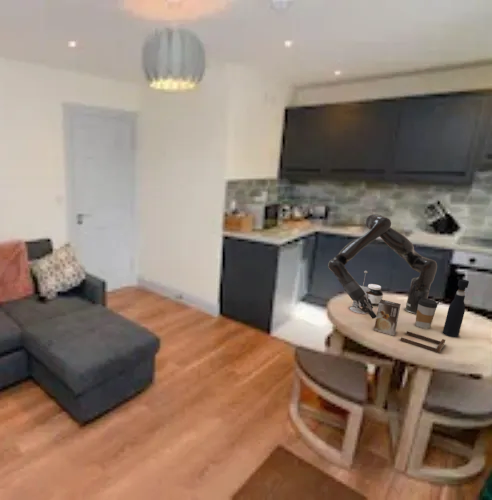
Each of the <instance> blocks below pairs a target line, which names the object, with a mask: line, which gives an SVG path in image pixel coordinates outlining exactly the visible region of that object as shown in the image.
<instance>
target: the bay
mask: <svg viewBox="0 0 492 500" xmlns="http://www.w3.org/2000/svg"><path fill="white" fill-rule="evenodd" d="M405 335H407V336H410V337H413V338H416V339H420V340H422V341H427V342H429V343H433V344H436V345H437V346H436V347H434V346H430V345H427V344H424V343H421V342H418V341H414V340H411V339H408V338H405V337H402V336H401V337H400V341H401V342H403V343H407V344H408V345H409V344H410V345H413V346H416V347H418V348H423V349H425V350H428V351H430V352H431V351H432V352H434V353H437V354H440V353H441V351H442V349H443V348H444V346H445V344H446V339H444V338H442V339H441V340H437V339H434V338H431V337H428V336H424V335H421V334H418V333H414V332H411V331H409V330H406V332H405Z"/></svg>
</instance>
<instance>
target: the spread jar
mask: <svg viewBox="0 0 492 500" xmlns="http://www.w3.org/2000/svg"><path fill="white" fill-rule="evenodd" d="M367 287H368V288H369V289H370V290H371V291H369V292H365V293H366V295H367V294H369V295H368V296H370V298H369V297H368V298H369V299H370V301H371V303H372V306H378V305H379V302H380V300H381V299H382V300H383V297H384V294H383V293H384V292H383V291H382V286H381V285H379V284H375V283H368V285H367Z"/></svg>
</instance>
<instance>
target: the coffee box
mask: <svg viewBox="0 0 492 500" xmlns="http://www.w3.org/2000/svg"><path fill="white" fill-rule="evenodd" d="M401 306H402V305H401V303H399V302H394V301H391V300H386V299H383V298H382V299H381V300H380V302H379V305H377V311H376V318H375V321H374V328H373V330H374V331H375V332H379V333H383V334H386V335H389V336H392V337H393V336H395V334H396V331H397V326H398V321H399V316H400V310H401Z"/></svg>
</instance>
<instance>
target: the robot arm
mask: <svg viewBox="0 0 492 500" xmlns="http://www.w3.org/2000/svg"><path fill="white" fill-rule="evenodd" d="M365 226H366V228H367V229H368V231H367V232H366V233H365V234H362V235H361V236H359V237H357V238H355V239H353V240H351V241H350V242H348V243H347V244H346V245H345V246H344V247H343V248H341V250H340V251H339V252H338V254H337V255H335V256H334V257H333V258H332V259H330V260H329V262H328V264H327V267H328V269H329V270H330V271H331V272H332V274H334V276H335V277H336V279H337V281H338V282H339V284H340V285H341V286H342V288H343V289H344V291H345V292H346V294H347V295H348V296H349V298H350V299H351V301H352V302H353V301H354V300H356V301H357V303H358V304H359V306H358V308H359V309H361V310H362V311H363V312H365V313H366V312H367V313H366V314H368V315H369V316H370V318H371V319H373V320H374V319H376V316H377V313H376V312H375V311H374V305H372V303H371V301H370V299H368V300H367V299H366V297H365V296H364V295H365V294H366V293H365V292H364V291H363V289H362V288H361V287H360V286H361V285H360V284H359V283H358V281H356V280H355V278H354V277H353V276H352V275H351V273H350V272H349V271H348V269H347V268H346V266H345V265H346V264H347V263H348V262H349V261H351V260H352V259H353V258H355V256H357V255H358V254H359V253H360V252H361V251H362V250H363V249H364V248H366V247H367V246H368V245H370V244H371V243H373V242H374V241H375V240H376V239H378V238H380V239H381V240H382V241H383V242H384V243H385V244H386V245H387V246H388V247H389V248H390V249H391V250H393V252H395V254H397V255H398V256H399V257H400V258H402V259H403V260H404V261H405V262H406V263H407V264H408V265H409V267H410V268H411V269H412V270H413V271H415V272H417V273H419V276H418V277H412V278H411V280H410V285H409V289H408V294H407V299H406V303H405V307H404V310H405V311H406V312H407V313H410V314H414V315H417V309H418V301H419V300H420V299H421V298H425V299H429V295H430V289H431V285H432V284H433V282H434V280H435V276H436V274H437V269H438V263H437V261H436V260H434V259H431V258H428V257H425V256H423V255H421V254H420V253H418V252H417V251H416V250H415V247H414V244H413V242H411V240H410V239H409V238H407V237H406V236H405V235H404V234H402V233H401V232H400V231H397V230H396V229H394V228H393V227H391V226H392V222H391V219H390V218H389V217H387V216H384V215H381V214H377V213H373V214H370V215H368V216H367V217H366V219H365ZM436 302H437V305H438V304H439V303H442V300H441V299H439V300H438V301H436Z"/></svg>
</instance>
